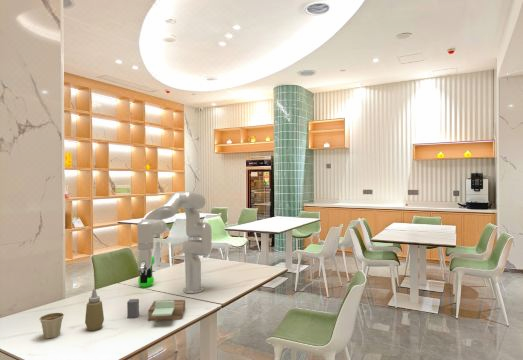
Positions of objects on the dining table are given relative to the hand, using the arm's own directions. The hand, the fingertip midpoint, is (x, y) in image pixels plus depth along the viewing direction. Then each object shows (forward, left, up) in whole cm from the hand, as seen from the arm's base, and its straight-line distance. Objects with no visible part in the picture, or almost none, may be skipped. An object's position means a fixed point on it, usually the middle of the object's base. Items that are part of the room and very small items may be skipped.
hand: (145, 280), depth 177 cm
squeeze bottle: (+11, -21, -19) cm, 30 cm away
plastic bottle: (-55, -13, -19) cm, 59 cm away
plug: (-2, -7, -18) cm, 20 cm away
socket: (-2, +10, -18) cm, 21 cm away
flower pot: (+17, -37, -19) cm, 45 cm away
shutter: (+9, +10, -13) cm, 19 cm away
